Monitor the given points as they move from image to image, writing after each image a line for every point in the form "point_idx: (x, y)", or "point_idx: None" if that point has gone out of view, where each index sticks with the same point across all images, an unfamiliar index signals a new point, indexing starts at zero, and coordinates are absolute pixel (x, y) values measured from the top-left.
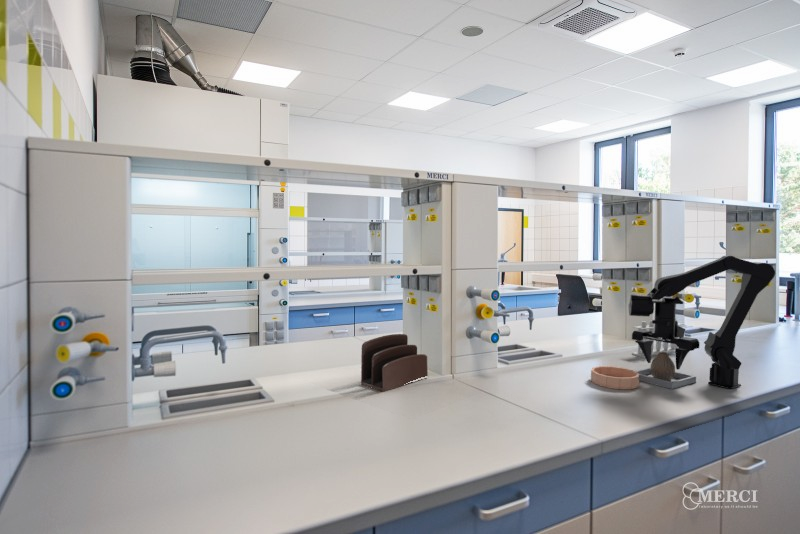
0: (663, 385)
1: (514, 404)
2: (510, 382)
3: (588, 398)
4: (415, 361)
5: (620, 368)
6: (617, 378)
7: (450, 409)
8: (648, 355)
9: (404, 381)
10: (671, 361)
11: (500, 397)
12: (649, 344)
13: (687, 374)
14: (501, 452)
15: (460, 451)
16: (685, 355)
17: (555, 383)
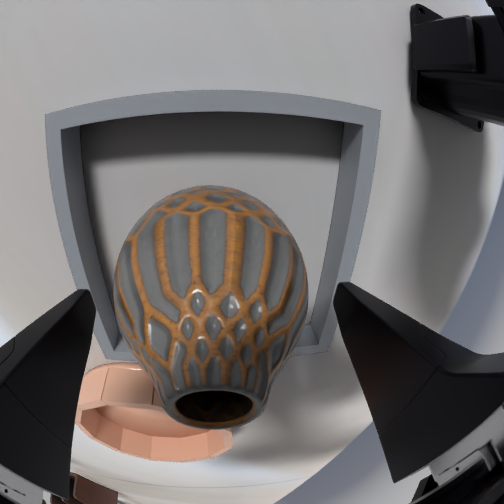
0: None
1: (193, 487)
2: (103, 465)
3: (222, 464)
4: (87, 498)
5: (103, 403)
6: (208, 457)
7: (180, 496)
8: (74, 363)
9: (100, 488)
10: (299, 333)
11: (164, 485)
12: (11, 432)
13: (324, 100)
14: (273, 495)
15: (255, 499)
16: (450, 352)
17: (121, 453)
